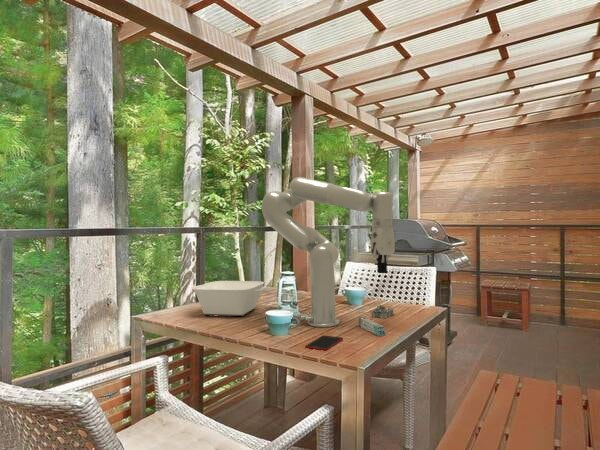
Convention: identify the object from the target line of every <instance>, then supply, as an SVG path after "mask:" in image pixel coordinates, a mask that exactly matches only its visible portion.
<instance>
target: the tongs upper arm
mask: <svg viewBox="0 0 600 450" xmlns="http://www.w3.org/2000/svg"><path fill="white" fill-rule="evenodd" d="M362 323H363V324H365V325H367V326H369V327H371V328H373V329H374V330H376V331H385V326H384V325H382V324H379V323H377V322H376V321H373V320H371V319H369V318H366V319H362Z"/></svg>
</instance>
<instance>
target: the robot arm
mask: <svg viewBox="0 0 600 450" xmlns="http://www.w3.org/2000/svg"><path fill="white" fill-rule="evenodd" d="M306 201H310V202H314V203H319V204H324V205H328V206H336V207H341V208H346V209H348V210H353V211H355V212H356V211H357V212H364V213H365V212H370V211H371V213H372V218H371V219H372V220H371V221H372V222H371V223H372V225H371V227H372V229H371V234H370V235H371V236H370V253H371V254H372V258H373V259H375V260H376V263H377V264H376V265H377V270H376V271H377V273H378V274H388V262H389V258H390V257H392V255H393V254H394V253H395V251H396V249H395V248H396V247H395V244H396V243H395V234H394V228H393V210H394V209H393V206H394V205H393V203H394V202H393V193H392V192H389V191H376V192H374V193H371V192H366V191H363V190H361V189H359V190H358V189H355V188H350V187H345V186H341V185H336V184H334V183H331V182H326V181H322V180H316V179H313V178H309V177H303V176H298V177H294V178H293V179H291V181H290V183H289V188H288V189H286V190H284V191H283V192H282V191H277V190H275V191H274V190H273V191H270V192H268V193H266V194H265V195H264V197H263V199H262V202H261V212H262V216H263V218H264V219H265V221H266V223H267V224H268V225H269V226H270V227H271V228H272V229H273V230H274V231H275V232H277V233H278V234H279V235H280V237H283V239H285V240H286V241H287V242H288V243H290V244H291V245H292V246H293V247H294V248H295V249H297V250H299V251H306V252H307V253H308V265H309V276H310V306H311V308H310V309H311V310H310V311H308V313H307V314H299V320H300V321H304V320H305V322H306V321H307V324H308V325H309V326H311V327H315V328H316V327H318V328H328V327H335V326H338V325H340V319H339V318H336V284H335V283H336V282H335V281H336V280H335V279H336V278H335V268H334V264H335V263H336V262H337V261H338V259H339V255H340V254H339V253H340V252H339V250H338V248H337V247H336V245H335V244H333V242H331V241H330V239H328V238H326V236H324V235H323V234H321V233H320V232H319V231H318V230H316V229H315V228H313V227H310V226H304V225H303V224H301V223H299V222H298V221H297V220H296V219H294V217H292V216H291V215H290V214H288V213H287V212H289V211H291V210H293V209H295V208H296V207H298V206H299V205H301V204H303V203H305V202H306Z"/></svg>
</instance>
